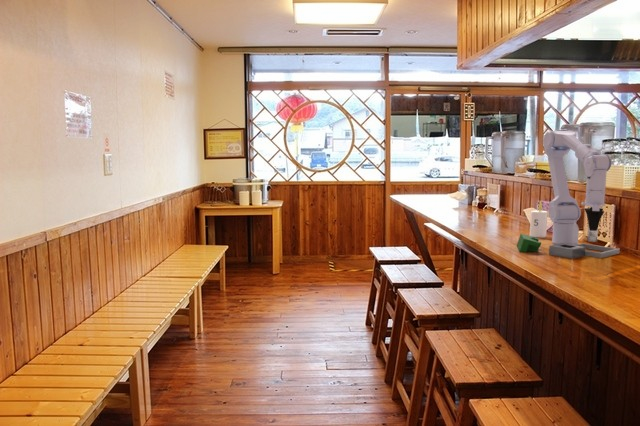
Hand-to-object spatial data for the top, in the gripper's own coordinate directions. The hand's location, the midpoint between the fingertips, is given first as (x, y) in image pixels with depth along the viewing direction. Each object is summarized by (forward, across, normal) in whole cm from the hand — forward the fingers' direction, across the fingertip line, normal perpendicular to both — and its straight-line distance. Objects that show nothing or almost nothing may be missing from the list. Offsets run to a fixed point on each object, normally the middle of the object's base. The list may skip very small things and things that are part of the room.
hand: (592, 229), depth 170 cm
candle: (+9, -33, -18) cm, 39 cm away
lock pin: (+4, 0, 0) cm, 4 cm away
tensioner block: (+9, +8, -8) cm, 14 cm away
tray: (+9, 0, 0) cm, 9 cm away
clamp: (+9, +4, -20) cm, 22 cm away
